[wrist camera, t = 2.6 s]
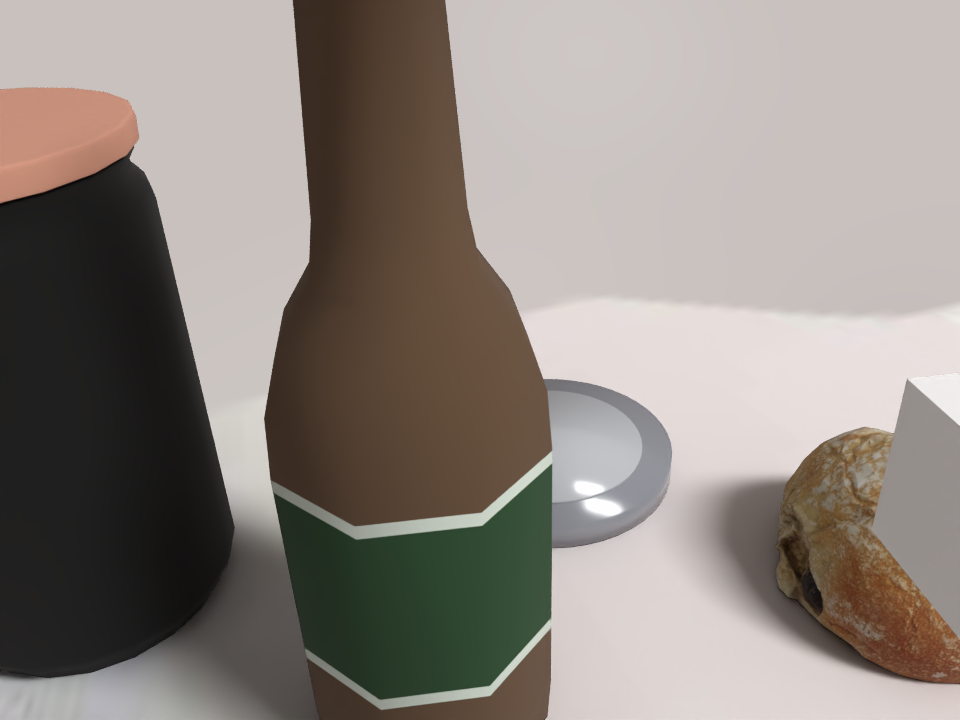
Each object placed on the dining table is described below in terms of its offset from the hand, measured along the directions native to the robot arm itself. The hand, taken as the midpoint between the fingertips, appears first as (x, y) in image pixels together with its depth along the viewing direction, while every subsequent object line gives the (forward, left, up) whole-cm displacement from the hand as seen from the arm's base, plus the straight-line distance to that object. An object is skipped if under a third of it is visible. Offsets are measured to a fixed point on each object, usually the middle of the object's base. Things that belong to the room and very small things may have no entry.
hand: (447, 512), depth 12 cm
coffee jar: (-6, +21, -17) cm, 28 cm away
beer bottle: (+3, +9, -17) cm, 19 cm away
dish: (+13, +18, -17) cm, 28 cm away
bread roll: (+21, +5, -17) cm, 28 cm away
